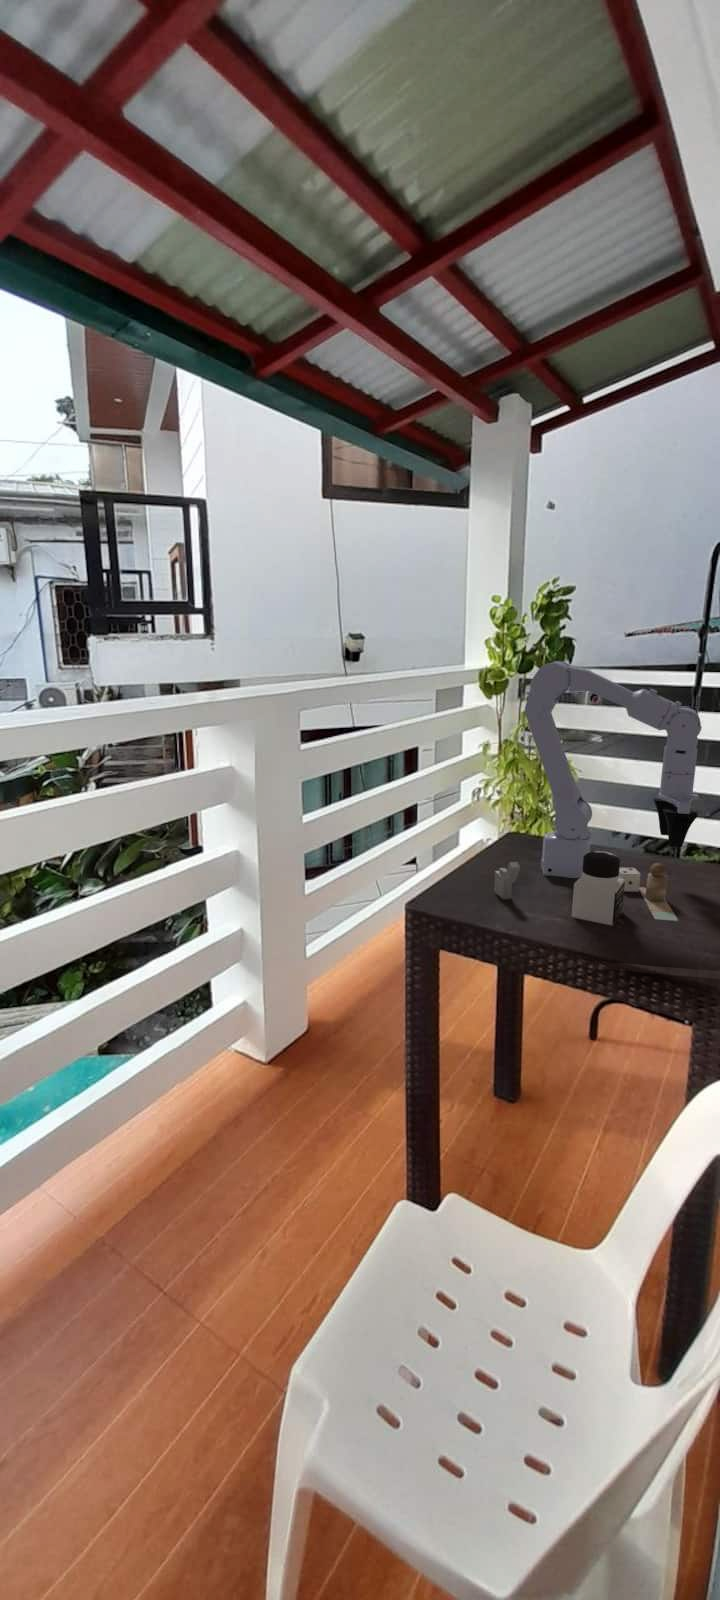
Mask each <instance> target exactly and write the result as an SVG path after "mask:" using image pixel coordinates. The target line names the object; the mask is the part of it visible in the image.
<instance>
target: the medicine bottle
mask: <svg viewBox="0 0 720 1600" xmlns="http://www.w3.org/2000/svg"><path fill="white" fill-rule="evenodd" d="M620 866H621V859H620V858H619V856H617V855H616V854H613V853H611V852H608V851H600V850H599V851H598V850H596V851H591V852H590V853H587V854H585V855H584V857H583V870H582V876H581V877H580V878H577V880H576V881H575V882H574V884H573V892H572V894H573V895H572V896H573V897H572V904H571V905H572V907H571V918H573V919H578V920H583V921H590V922H594V923H597V924H604V925H609V926H615V924H616V922H617V921H618V920H619V918H620V916H621V915H622V913H623V905H624V897H625V896H624V895H625V894H624V893H625V891H624V885H625V880H624V879H621V878H619V868H621V867H620Z"/></svg>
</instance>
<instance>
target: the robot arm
mask: <svg viewBox="0 0 720 1600" xmlns="http://www.w3.org/2000/svg"><path fill="white" fill-rule="evenodd" d="M567 691H569V693H573V692H584V691H585V692H588V693H591V694H594V695H595V696H598V697H601V698H603V699H606V700H607V701H610V702H613V703H615V704H617V705H620V706H622V707H625V709H626V712H627V715H628V717H629V718H632V719H634V720H636V721H639V722H640V723H643V724H645V725H647V726H649V727H652V728H653V729H656V730H658V731H666V733H667V736H666V745H664V749H663V759H662V768H661V777H660V786H659V792H658V798H653V802H654V805H655V808H656V811H657V812H656V813H657V816H658V822H659V823H658V824H659V831H660V835H661V836H667V837H668V844H669V847H673V848H682V847H683V845H684V842H685V839H686V837H687V834H688V832H689V830H690V828H691V826H692V824H693V823H694V821H695V820H696V819H697V818H698V813H697V812H696V811H691V808H692V807H691V806H692V802H693V801H697V800H699V799H700V796H699V794H696V793H694V792H693V791H694V784H695V775H696V767H697V757H698V747H697V746H698V744H699V738H698V736H699V735H700V734H701V731H702V728H703V727H702V725H701V724H702V723H701V719H700V716H699V714H698V713H697V712H696V711H695V710H694V709H692V708H691V707H690V706H686V705H682V702H681V701H678V700H676V701H675V702H674V701H672V700H670V699H668V698H665V697H663V696H661V695H659V694H658V691H657V690H656V689H653V688H650V690H648V689H645V688H642V689H641V688H640V689H639V690H636V691H632V690H630V689H629V688H626V687H624V686H622V685H620V684H619V683H616V682H614V681H612V680H610V679H607V678H606V677H604V676H602V675H599V674H598V673H595V671H591V670H590V669H587V668H585V667H584V668H583V667H580V666H578V665H574V664H571V665H570V664H569V663H567V662H565V661H562V660H557V661H552V662H549V663H545V664H544V665H543V664H542V666H541V667H539V669H538V670H537V671H536V673H535V674H534V676H533V677H532V678H531V681H530V685H529V691H528V694H527V695H528V696H527V699H526V703H525V706H524V715H525V718H526V721H527V723H528V727H529V730H530V733H531V736H532V739H533V741H534V743H535V747H536V750H537V753H538V755H539V759H540V762H541V765H542V767H543V770H544V773H545V776H546V778H547V782H548V785H549V787H550V790H551V793H552V794H551V795H552V803H553V805H552V806H553V809H554V812H555V818H554V827H555V829H554V832H549V833H547V832H545V833H544V834H543V840H542V856H541V859H540V868H541V869H542V876H551V877H552V876H553V877H563V878H568V879H569V878H571V879H579V878H580V877H581V876H582V870H583V857H584V855H585V854H587V853H590V851H591V850H590V849H591V838H592V832H590V830H589V829H588V824H589V823H590V821H591V820H592V818H593V810H592V807H591V805H590V804H589V803H588V802H587V801H586V800H585V799H584V797H583V795H582V793H581V790H580V789H579V787H578V785H577V784H576V781H575V779H574V775H573V772H572V769H571V766H570V764H569V760H568V758H567V755H566V752H565V749H564V746H563V743H562V741H561V738H560V734H559V730H558V728H557V725H556V722H555V720H554V717H553V714H552V713H553V710H554V709H555V706H556V705H557V703H558V702H559V700H560V698H561V696H562V695H563V694H565V693H566V692H567ZM549 869H550V870H549Z"/></svg>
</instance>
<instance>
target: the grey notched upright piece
mask: <svg viewBox="0 0 720 1600" xmlns="http://www.w3.org/2000/svg"><path fill="white" fill-rule="evenodd" d="M520 871H521V866H520V864H519V862H518V861H511V862H509V863H508V865H507V868H505V867H501V868H499V869H498V870H495V871H494V885H493V886H494V890H493V892H494V894H496V895H497V896H498V897H499V898H501V899H502V900H511V899H512V890H513V889H512V888H513V886H512V885H513V883H516V882H517V879H518V876H519V873H520Z"/></svg>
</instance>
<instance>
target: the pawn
mask: <svg viewBox="0 0 720 1600" xmlns="http://www.w3.org/2000/svg"><path fill="white" fill-rule="evenodd" d="M649 871H650V872H649V873H647V881H646V887H645V888H646V896H645V898H646V899H647V900H649V901H652V902H664V901H665V899H666V895H667V888H668V887H667V885H668V880H669V879H668V875H667V871H668V870H667V866H665V864H663V863H661V862H655V863H653V864H651V866H650V869H649Z"/></svg>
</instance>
